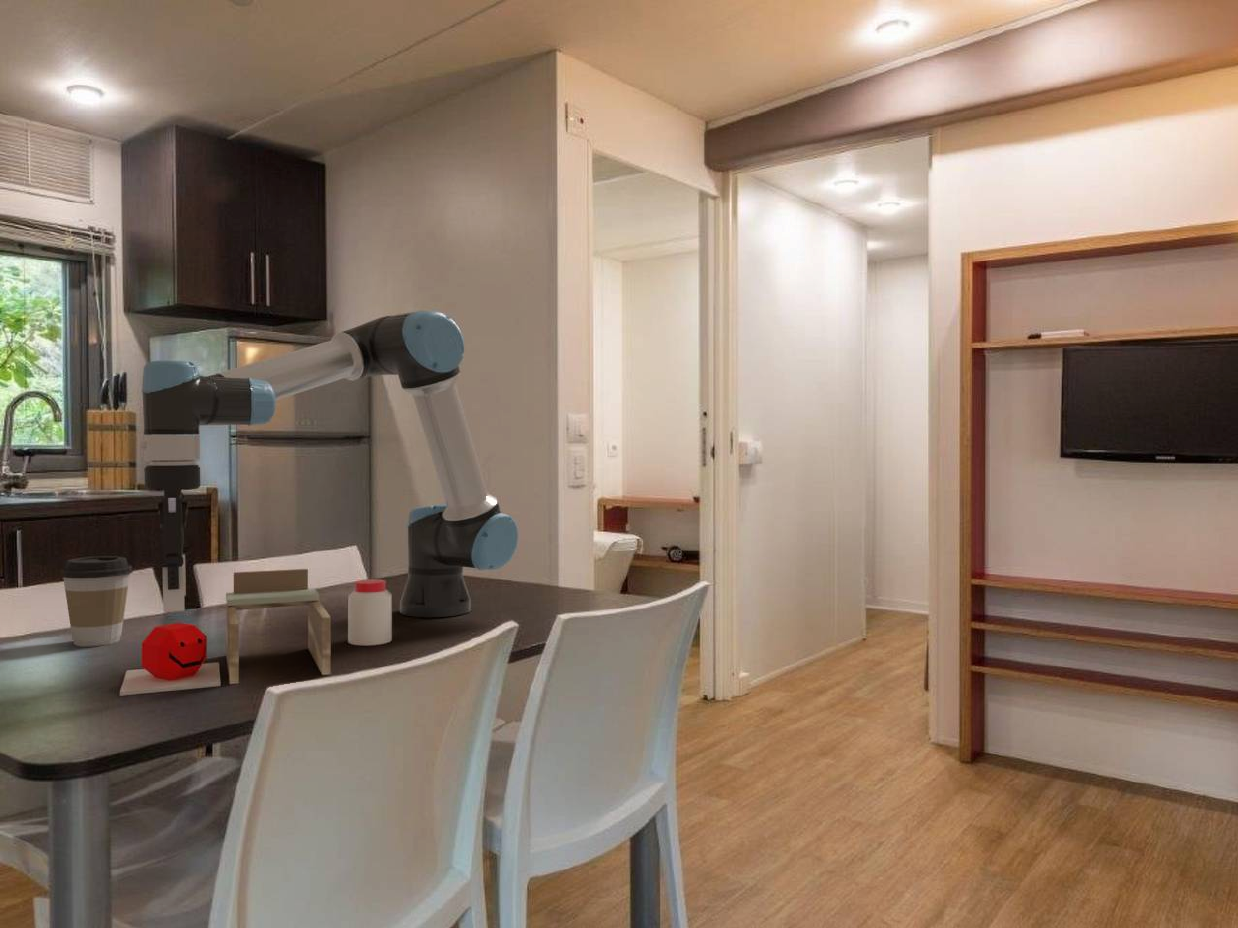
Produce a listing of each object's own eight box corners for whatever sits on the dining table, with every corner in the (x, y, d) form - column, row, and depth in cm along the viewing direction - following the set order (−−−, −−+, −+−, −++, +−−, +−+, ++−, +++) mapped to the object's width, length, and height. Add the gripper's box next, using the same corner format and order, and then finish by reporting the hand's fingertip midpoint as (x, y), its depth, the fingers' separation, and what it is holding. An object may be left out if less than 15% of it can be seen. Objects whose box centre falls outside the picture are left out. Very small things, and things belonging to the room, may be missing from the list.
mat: (218, 665, 142) (218, 662, 142) (220, 685, 130) (220, 681, 130) (126, 674, 136) (126, 670, 136) (119, 695, 124) (119, 691, 124)
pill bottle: (400, 638, 164) (400, 579, 164) (375, 646, 156) (375, 585, 156) (364, 635, 166) (365, 577, 166) (339, 643, 159) (339, 583, 159)
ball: (166, 685, 128) (166, 633, 127) (133, 678, 132) (133, 627, 131) (215, 673, 135) (215, 624, 134) (182, 667, 138) (182, 618, 138)
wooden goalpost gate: (315, 647, 155) (315, 597, 155) (330, 674, 137) (330, 616, 137) (226, 655, 149) (226, 602, 149) (229, 684, 131) (230, 624, 131)
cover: (313, 593, 157) (313, 568, 157) (319, 600, 150) (319, 574, 150) (226, 598, 151) (226, 572, 151) (227, 606, 144) (227, 578, 144)
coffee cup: (147, 639, 161) (147, 557, 161) (87, 652, 151) (86, 564, 150) (106, 633, 166) (106, 554, 165) (45, 645, 155) (45, 560, 155)
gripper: (148, 461, 142) (151, 592, 143) (139, 466, 120) (142, 620, 120) (200, 461, 145) (202, 588, 146) (199, 465, 123) (202, 615, 124)
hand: (175, 603), depth 133 cm, fingers open, 13 cm apart
